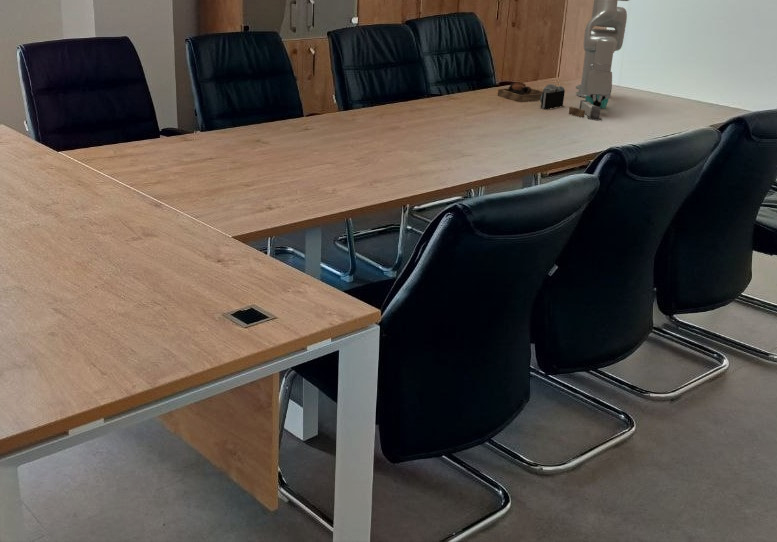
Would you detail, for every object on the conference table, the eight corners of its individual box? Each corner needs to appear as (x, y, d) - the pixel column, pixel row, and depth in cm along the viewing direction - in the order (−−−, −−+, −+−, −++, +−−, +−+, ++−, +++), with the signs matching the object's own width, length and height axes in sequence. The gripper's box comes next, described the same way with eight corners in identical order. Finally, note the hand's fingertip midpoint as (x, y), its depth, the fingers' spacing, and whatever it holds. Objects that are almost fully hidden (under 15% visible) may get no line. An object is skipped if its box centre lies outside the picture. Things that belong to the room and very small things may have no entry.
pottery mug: (503, 99, 422) (504, 82, 423) (512, 105, 430) (513, 89, 431) (526, 96, 415) (528, 79, 417) (535, 103, 423) (537, 86, 424)
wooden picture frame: (497, 95, 427) (498, 89, 426) (526, 93, 436) (527, 87, 435) (520, 102, 414) (520, 95, 413) (549, 99, 424) (550, 93, 423)
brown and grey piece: (568, 113, 396) (570, 101, 394) (579, 112, 400) (581, 100, 398) (593, 121, 385) (595, 108, 383) (604, 119, 388) (606, 107, 386)
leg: (596, 117, 391) (598, 107, 390) (588, 116, 391) (590, 107, 389) (586, 109, 406) (587, 100, 404) (578, 109, 406) (579, 100, 404)
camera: (552, 103, 416) (554, 81, 412) (564, 106, 412) (567, 84, 408) (533, 107, 406) (536, 84, 402) (546, 109, 402) (548, 87, 398)
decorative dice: (584, 107, 413) (586, 89, 410) (590, 104, 419) (593, 87, 416) (600, 109, 409) (603, 92, 406) (607, 107, 415) (609, 89, 412)
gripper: (582, 66, 391) (577, 109, 398) (617, 70, 386) (611, 114, 392) (587, 65, 398) (581, 107, 404) (621, 69, 392) (615, 111, 398)
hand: (596, 110), depth 398 cm, fingers closed
